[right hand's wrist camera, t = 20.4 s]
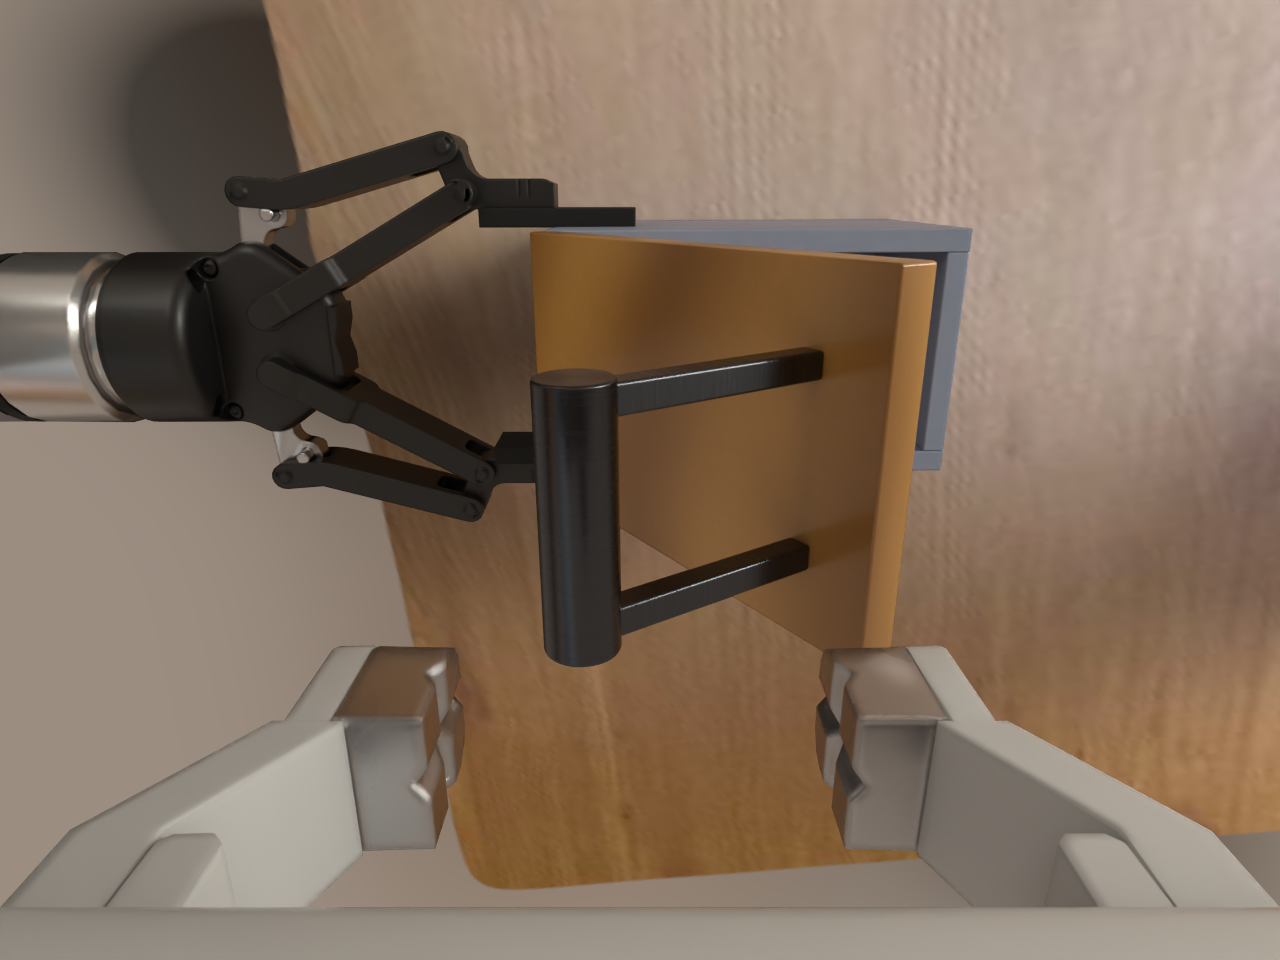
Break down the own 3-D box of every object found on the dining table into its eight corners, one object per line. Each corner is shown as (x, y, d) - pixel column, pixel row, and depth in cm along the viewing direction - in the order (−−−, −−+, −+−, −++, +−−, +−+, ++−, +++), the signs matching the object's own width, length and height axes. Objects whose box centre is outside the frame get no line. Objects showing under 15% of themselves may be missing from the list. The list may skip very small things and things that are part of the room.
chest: (889, 219, 40) (973, 228, 30) (870, 405, 43) (940, 470, 33) (567, 220, 40) (544, 230, 30) (574, 407, 43) (555, 472, 33)
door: (939, 260, 17) (594, 287, 12) (890, 660, 20) (606, 794, 15) (557, 231, 30) (324, 239, 25) (566, 475, 33) (362, 519, 29)
